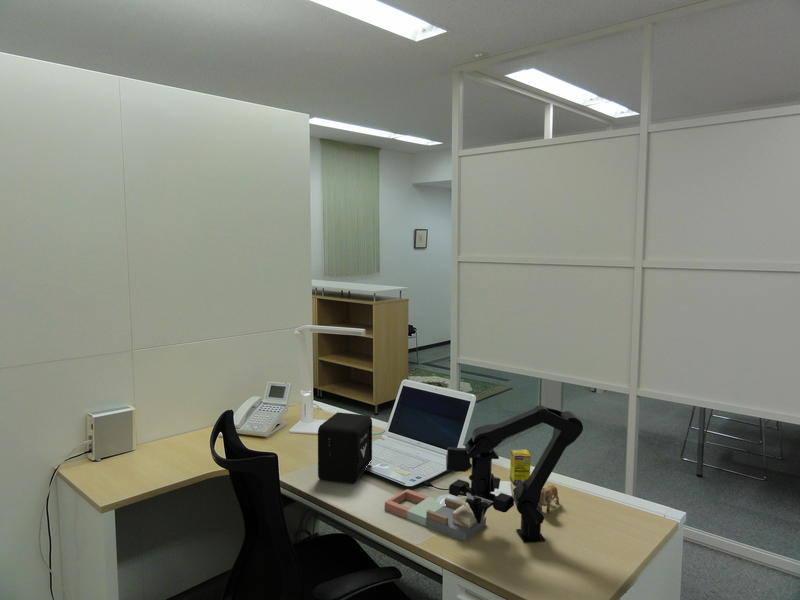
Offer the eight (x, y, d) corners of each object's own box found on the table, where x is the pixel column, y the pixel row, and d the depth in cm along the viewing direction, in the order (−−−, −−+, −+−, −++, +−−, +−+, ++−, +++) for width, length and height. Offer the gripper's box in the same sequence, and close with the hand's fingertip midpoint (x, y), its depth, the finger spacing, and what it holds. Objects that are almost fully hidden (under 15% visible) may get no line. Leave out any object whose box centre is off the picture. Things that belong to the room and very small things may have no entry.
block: (479, 520, 159) (480, 510, 158) (469, 528, 154) (470, 518, 154) (462, 514, 162) (462, 504, 162) (452, 522, 157) (452, 512, 157)
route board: (485, 524, 161) (486, 510, 160) (465, 541, 151) (466, 526, 151) (407, 496, 179) (407, 483, 179) (384, 509, 170) (384, 496, 169)
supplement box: (513, 484, 189) (514, 455, 188) (509, 477, 195) (510, 448, 194) (530, 484, 189) (531, 455, 188) (525, 477, 195) (526, 449, 194)
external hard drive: (510, 486, 189) (512, 502, 177) (487, 484, 190) (487, 499, 178) (510, 481, 189) (512, 497, 177) (487, 479, 190) (487, 495, 178)
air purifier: (355, 486, 186) (355, 431, 184) (317, 481, 190) (317, 427, 188) (374, 464, 205) (374, 414, 203) (339, 459, 209) (339, 410, 207)
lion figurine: (551, 520, 164) (552, 493, 163) (534, 516, 166) (535, 489, 165) (560, 501, 177) (561, 475, 176) (544, 497, 179) (545, 472, 178)
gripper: (523, 471, 154) (520, 522, 156) (467, 455, 166) (465, 503, 167) (506, 484, 145) (504, 538, 147) (448, 466, 157) (447, 516, 158)
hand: (479, 522), depth 155 cm, fingers closed
